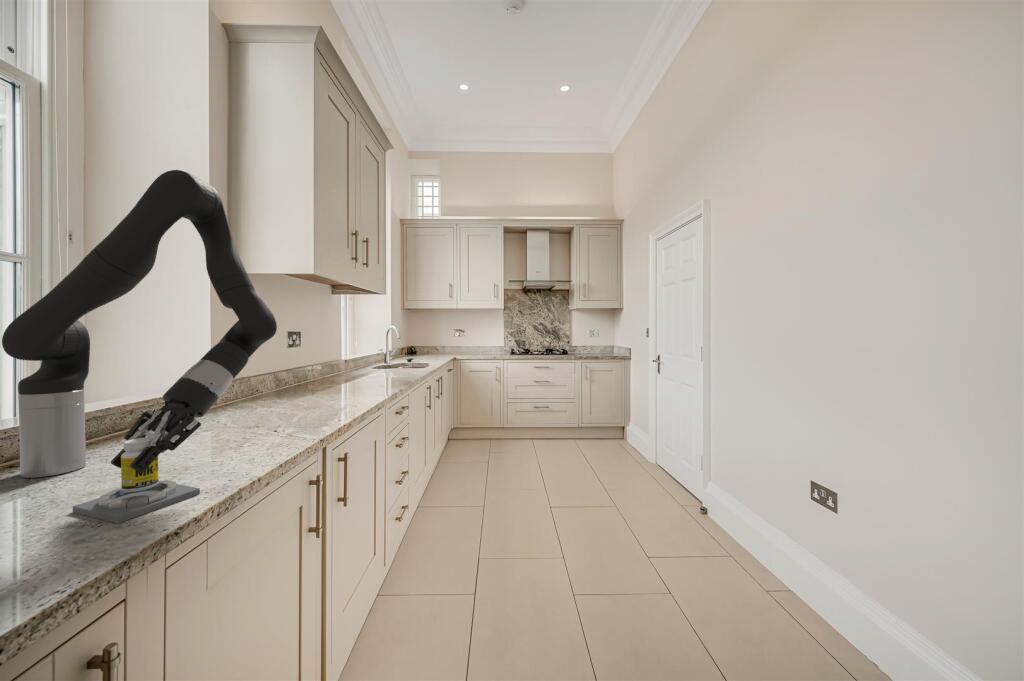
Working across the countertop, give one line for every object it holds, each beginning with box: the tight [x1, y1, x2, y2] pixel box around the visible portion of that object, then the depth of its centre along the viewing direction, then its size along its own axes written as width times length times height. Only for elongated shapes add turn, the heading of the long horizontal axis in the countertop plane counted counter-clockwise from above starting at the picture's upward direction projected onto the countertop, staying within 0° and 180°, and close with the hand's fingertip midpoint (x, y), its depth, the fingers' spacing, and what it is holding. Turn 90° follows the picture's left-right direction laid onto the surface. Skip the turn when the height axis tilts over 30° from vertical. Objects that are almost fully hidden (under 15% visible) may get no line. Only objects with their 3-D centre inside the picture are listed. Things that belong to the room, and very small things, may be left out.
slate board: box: [72, 483, 201, 524], centre depth 69 cm, size 12×12×1 cm
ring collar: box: [98, 479, 177, 510], centre depth 69 cm, size 10×10×1 cm
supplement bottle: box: [120, 436, 160, 492], centre depth 69 cm, size 5×5×8 cm
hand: (126, 467), depth 67 cm, fingers closed on supplement bottle, 4 cm apart
